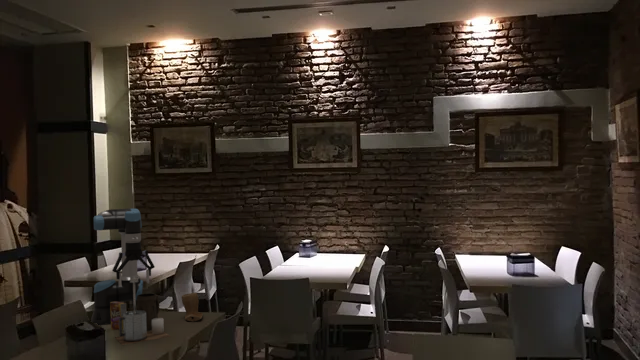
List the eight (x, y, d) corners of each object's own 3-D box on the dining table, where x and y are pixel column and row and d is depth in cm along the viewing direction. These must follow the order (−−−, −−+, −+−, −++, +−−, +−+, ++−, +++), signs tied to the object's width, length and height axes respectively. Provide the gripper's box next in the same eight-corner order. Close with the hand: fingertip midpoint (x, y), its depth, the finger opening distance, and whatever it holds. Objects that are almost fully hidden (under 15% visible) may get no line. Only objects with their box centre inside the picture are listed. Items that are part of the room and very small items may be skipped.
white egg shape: (150, 332, 291) (150, 319, 291) (161, 330, 294) (161, 317, 294) (153, 335, 286) (153, 321, 286) (165, 333, 289) (165, 319, 289)
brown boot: (183, 316, 330) (182, 291, 330) (203, 315, 332) (203, 290, 332) (179, 322, 315) (179, 296, 315) (201, 321, 317) (200, 295, 317)
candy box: (110, 330, 302) (109, 302, 302) (117, 328, 306) (116, 300, 306) (120, 332, 297) (120, 304, 297) (127, 330, 301) (126, 302, 301)
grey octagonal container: (117, 338, 280) (116, 312, 280) (143, 334, 287) (142, 309, 287) (122, 343, 271) (121, 317, 271) (149, 339, 278) (148, 313, 278)
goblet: (124, 317, 281) (124, 277, 281) (140, 314, 285) (139, 275, 285) (128, 320, 274) (127, 279, 274) (144, 317, 279) (143, 277, 278)
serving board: (114, 340, 283) (114, 337, 283) (161, 332, 296) (161, 329, 296) (122, 348, 270) (122, 344, 270) (171, 339, 282) (171, 336, 282)
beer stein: (150, 334, 292) (151, 296, 293) (132, 333, 294) (132, 295, 295) (164, 328, 307) (165, 292, 308) (146, 328, 309) (147, 291, 310)
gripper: (108, 244, 270) (109, 288, 270) (160, 240, 283) (161, 282, 283) (105, 243, 276) (106, 286, 276) (156, 239, 289) (156, 280, 289)
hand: (134, 284), depth 280 cm, fingers open, 13 cm apart
